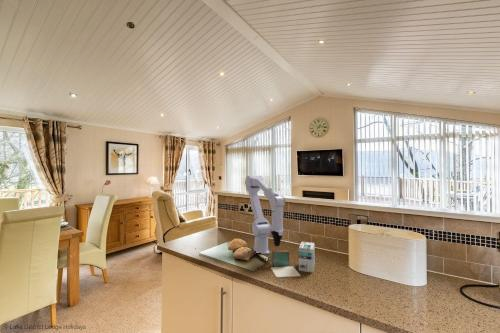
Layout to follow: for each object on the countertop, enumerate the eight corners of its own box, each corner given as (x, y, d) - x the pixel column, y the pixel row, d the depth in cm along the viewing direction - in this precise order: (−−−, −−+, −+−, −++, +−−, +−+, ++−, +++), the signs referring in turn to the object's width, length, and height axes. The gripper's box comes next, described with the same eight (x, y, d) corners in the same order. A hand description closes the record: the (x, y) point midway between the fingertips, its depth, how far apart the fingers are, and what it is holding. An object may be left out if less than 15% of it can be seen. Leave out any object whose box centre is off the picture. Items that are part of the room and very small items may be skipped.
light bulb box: (313, 273, 109) (313, 249, 109) (298, 270, 111) (298, 247, 111) (314, 264, 119) (315, 242, 119) (301, 262, 121) (301, 241, 121)
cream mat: (270, 268, 114) (270, 267, 114) (292, 266, 116) (292, 266, 116) (276, 277, 104) (276, 276, 104) (300, 276, 106) (300, 275, 106)
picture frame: (271, 264, 118) (271, 250, 118) (287, 264, 119) (287, 249, 119) (273, 267, 115) (273, 252, 115) (289, 266, 116) (289, 251, 116)
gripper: (266, 216, 130) (266, 241, 130) (273, 222, 116) (273, 250, 116) (278, 216, 131) (278, 241, 131) (287, 222, 117) (287, 250, 117)
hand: (276, 245), depth 124 cm, fingers closed
